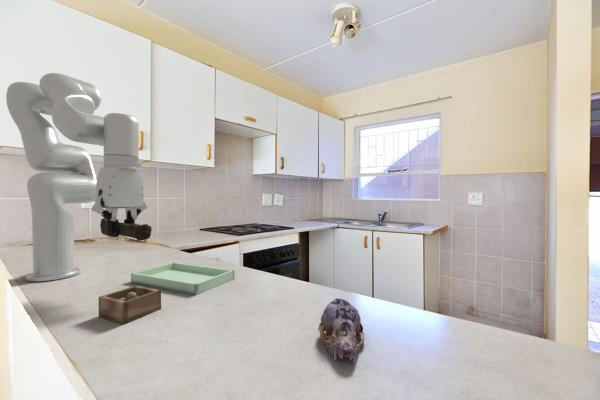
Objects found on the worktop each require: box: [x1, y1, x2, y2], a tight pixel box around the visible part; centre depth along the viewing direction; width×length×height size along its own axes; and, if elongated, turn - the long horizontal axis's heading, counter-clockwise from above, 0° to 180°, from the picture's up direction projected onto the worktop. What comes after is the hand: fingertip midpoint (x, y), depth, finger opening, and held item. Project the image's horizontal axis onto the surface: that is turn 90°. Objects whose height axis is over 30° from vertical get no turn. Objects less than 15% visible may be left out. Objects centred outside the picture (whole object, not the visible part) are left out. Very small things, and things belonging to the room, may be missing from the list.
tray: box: [130, 261, 235, 295], centre depth 81 cm, size 25×15×2 cm, turn 65°
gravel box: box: [98, 285, 162, 325], centre depth 58 cm, size 8×8×4 cm
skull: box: [317, 297, 365, 364], centre depth 45 cm, size 12×8×6 cm, turn 169°
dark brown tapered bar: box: [99, 217, 153, 242], centre depth 72 cm, size 19×4×5 cm, turn 59°
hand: (121, 234), depth 72 cm, fingers closed on dark brown tapered bar, 3 cm apart
